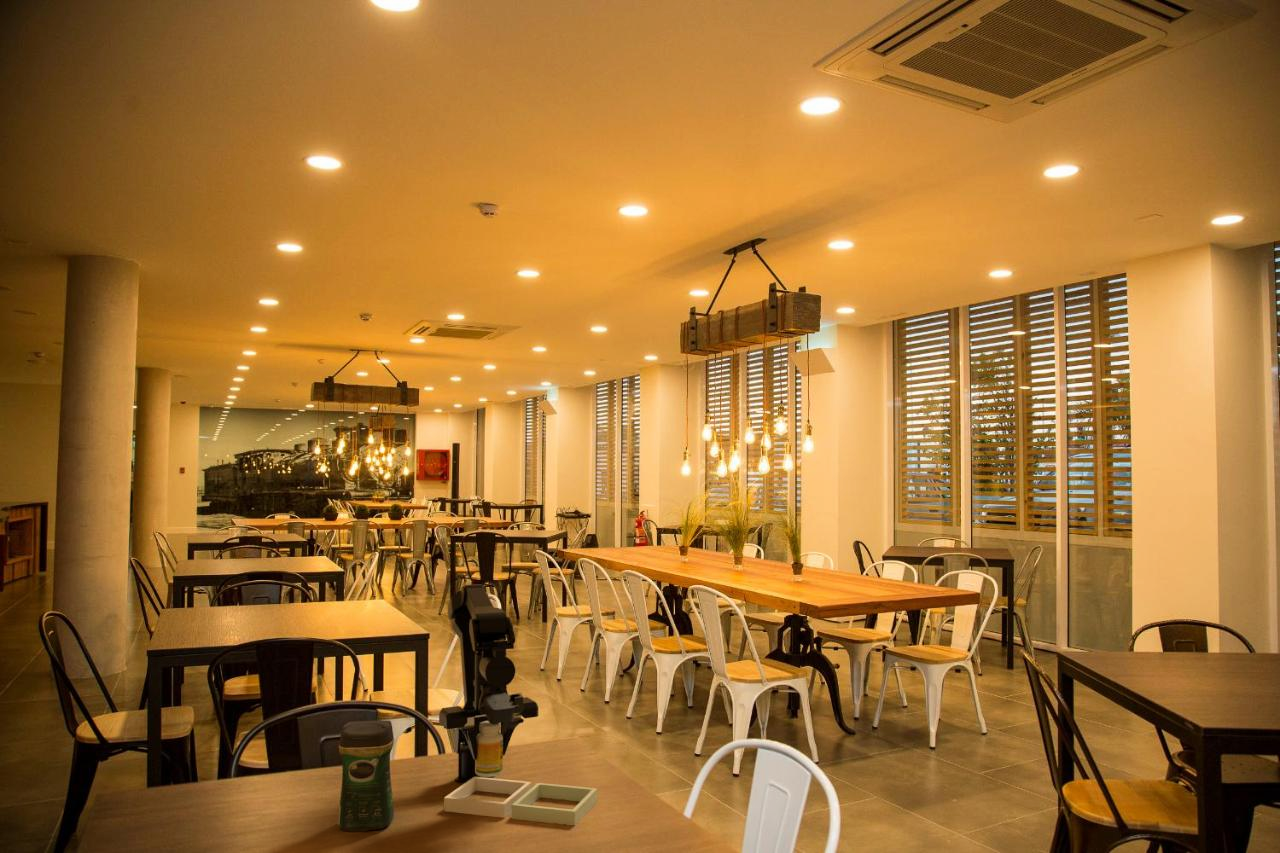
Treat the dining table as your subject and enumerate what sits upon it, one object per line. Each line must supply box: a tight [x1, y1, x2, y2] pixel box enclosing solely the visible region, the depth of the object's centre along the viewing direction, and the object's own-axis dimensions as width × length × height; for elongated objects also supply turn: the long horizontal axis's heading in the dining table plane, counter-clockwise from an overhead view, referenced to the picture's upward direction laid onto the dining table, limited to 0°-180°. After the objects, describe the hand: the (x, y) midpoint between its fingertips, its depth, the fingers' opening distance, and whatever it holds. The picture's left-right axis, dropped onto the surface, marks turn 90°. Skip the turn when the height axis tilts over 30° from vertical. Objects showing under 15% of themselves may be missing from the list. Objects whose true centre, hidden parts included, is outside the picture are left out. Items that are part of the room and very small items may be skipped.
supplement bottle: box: [475, 721, 504, 778], centre depth 175 cm, size 5×5×10 cm
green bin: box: [511, 782, 598, 826], centre depth 171 cm, size 13×13×2 cm
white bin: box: [443, 777, 532, 819], centre depth 175 cm, size 13×13×2 cm
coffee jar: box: [337, 720, 395, 832], centre depth 164 cm, size 10×8×19 cm
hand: (489, 757), depth 175 cm, fingers closed on supplement bottle, 5 cm apart
